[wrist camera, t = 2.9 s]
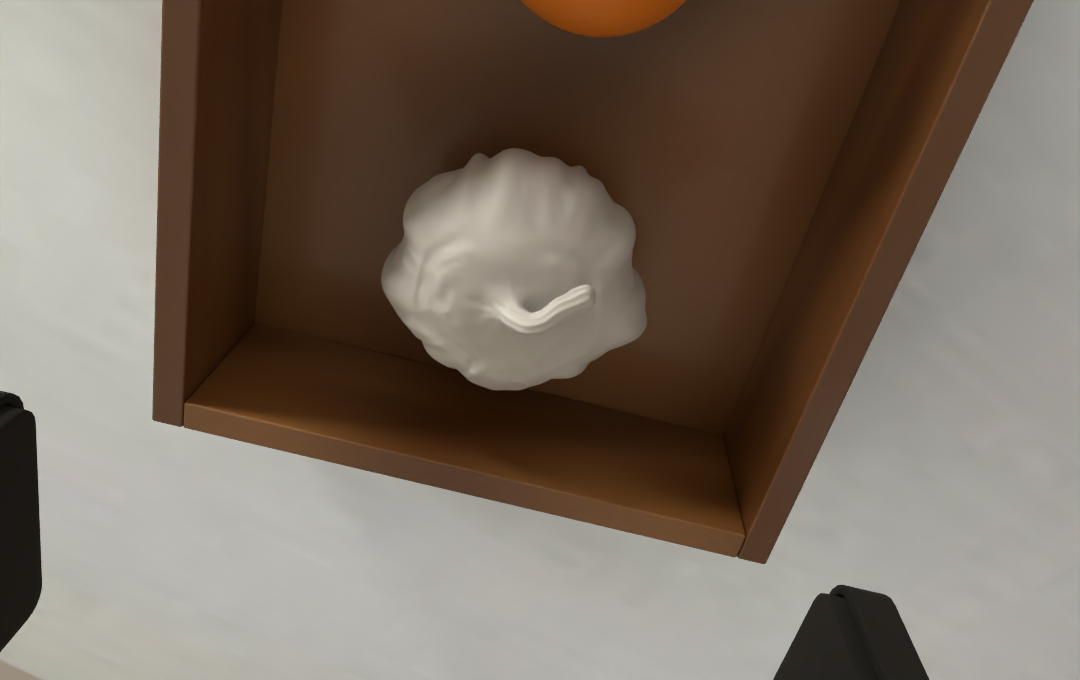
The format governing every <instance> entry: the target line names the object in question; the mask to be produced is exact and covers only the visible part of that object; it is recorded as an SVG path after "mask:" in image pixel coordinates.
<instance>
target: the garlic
mask: <svg viewBox="0 0 1080 680" xmlns="http://www.w3.org/2000/svg"><path fill="white" fill-rule="evenodd" d="M403 228H404V237H403V239H402V241H401V243H400V244H399V245H398V246H396V247H395V248H394V249H393V250H392V252H391V253H390V254H389V256H388V257H387V259H386V261H385V264H384V267H383V270H382V275H381V283H382V288H383V291H384V293H385V295H386V297H387V299H388V300H389V302H390V303H391V305H392V306H393V308H394V310H395V311H396V313H397V314H398V316H399V317H400V319H401V320H402V321H403V323H404V324H405V325H406V326H407V327H408V328H409V329H410V330H411V332H412V333H413V334H414V336H415V337H417V338H418V339H420V340H422V343H423V345H424V348H425V350H426V351H427V353H428V354H429V355H430V356H431V357H432V358H433V359H435V360H436V361H438V362H440V363H441V364H443V365H445V366H447V367H449V368H455V369H457V370H458V371H459V372H460V373H461V374H462V375H464V376H465V377H466V378H467V379H468V380H469V381H470V382H472V383H474V384H477V385H479V386H482V387H485V388H488V389H491V390H522V389H525V388H528V387H532V386H536V385H539V384H542V383H544V382H546V381H548V380H550V379H565V378H572V377H575V376H577V375H579V374H580V373H581V372H583V371H584V370H585V368H586V367H587V365H588V364H589V363H590V362H591V361H593V360H596V359H597V358H599V357H600V356H602V355H603V354H605V353H606V352H607V351H609V350H611V349H614V348H618V347H620V346H623V345H625V344H628V343H630V342H632V341H634V340H636V339H637V338H639V337H640V336H641V335H642V333H643V332H644V330H645V328H646V326H647V315H646V311H645V303H646V294H645V288H644V284H643V282H642V280H641V278H640V276H639V274H638V273H637V272H636V270H635V269H634V268H633V267H632V255H633V248H634V244H635V239H636V229H635V224H634V221H633V219H632V217H631V215H630V213H629V212H628V211H627V210H626V209H625V208H624V207H622V206H620V205H618V204H616V203H615V202H614V201H613V200H612V199H611V197H610V196H609V194H608V193H607V191H606V189H605V186H604V185H603V183H602V182H601V181H600V180H598V179H596V178H593V177H591V176H590V175H589V174H588V173H587V171H586V169H585V168H584V167H583V166H579V165H578V166H573V167H570V166H568V165H566V164H565V163H564V162H562V161H561V160H560V159H558V158H554V157H540V156H538V155H536V154H534V153H532V152H530V151H527V150H524V149H519V148H510V149H506V150H503V151H501V152H500V153H498V154H497V155H495V156H493V157H492V158H491V159H490V158H489V157H487V156H486V155H484V154H482V153H477V154H475V155H474V156H473V157H472V158H471V159H470V161H469V162H468V163H467V165H466V166H465V167H464V168H461V169H457V170H454V171H450V172H445V173H441V174H438V175H436V176H434V177H432V178H431V179H430V180H429V181H427V182H426V183H425V184H423V185H421V186H420V187H418V188H417V189H416V190H415V191H414V192H413V194H412V195H411V196H410V198H409V199H408V201H407V203H406V206H405V209H404V213H403Z"/></svg>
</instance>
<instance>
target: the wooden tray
mask: <svg viewBox="0 0 1080 680" xmlns="http://www.w3.org/2000/svg"><path fill="white" fill-rule="evenodd" d="M1032 2H1033V0H687V1H686V2H685V3H683V4H682V5H681V6H680V7H679V8H678V9H677V10H676V11H675V12H673V13H672V14H670V15H669V16H668V17H666V18H665V19H663V20H662V21H660V22H658V23H656V24H654V25H652V26H650V27H649V28H646V29H643V30H641V31H638V32H635V33H632V34H627V35H623V36H617V37H606V38H602V37H588V36H582V35H577V34H573V33H570V32H567V31H565V30H562V29H559V28H557V27H555V26H553V25H551V24H549V23H548V22H546V21H545V20H543V19H542V18H540V17H539V16H537V15H536V14H535V13H533V12H532V11H531V10H530V9H529V8H528V7H527V6H526V5H524V4H523V2H522V1H521V0H163V2H162V43H161V84H160V126H159V167H158V209H157V250H156V291H155V333H154V374H153V416H152V419H153V420H154V421H158V422H162V423H166V424H171V425H175V426H179V427H182V426H184V427H185V428H188V429H192V430H197V431H201V432H205V433H209V434H213V435H218V436H222V437H226V438H230V439H235V440H239V441H243V442H247V443H252V444H256V445H260V446H264V447H269V448H273V449H277V450H281V451H286V452H290V453H294V454H298V455H303V456H307V457H311V458H315V459H320V460H324V461H328V462H332V463H337V464H341V465H345V466H349V467H354V468H358V469H362V470H366V471H370V472H375V473H379V474H383V475H387V476H392V477H396V478H400V479H404V480H409V481H413V482H417V483H421V484H426V485H430V486H434V487H438V488H443V489H447V490H451V491H455V492H460V493H464V494H468V495H472V496H477V497H481V498H485V499H489V500H494V501H498V502H502V503H506V504H511V505H515V506H519V507H523V508H527V509H532V510H536V511H540V512H544V513H549V514H553V515H557V516H561V517H566V518H570V519H574V520H578V521H583V522H587V523H591V524H595V525H600V526H604V527H608V528H612V529H617V530H621V531H625V532H629V533H634V534H638V535H642V536H646V537H651V538H655V539H659V540H663V541H668V542H672V543H676V544H680V545H684V546H689V547H693V548H697V549H701V550H706V551H710V552H714V553H718V554H723V555H727V556H731V557H738V558H740V559H744V560H748V561H753V562H757V563H761V564H765V563H766V562H767V560H768V557H769V555H770V553H771V551H772V549H773V547H774V545H775V543H776V541H777V539H778V536H779V534H780V532H781V530H782V528H783V526H784V524H785V522H786V520H787V518H788V515H789V513H790V511H791V509H792V507H793V505H794V503H795V501H796V499H797V496H798V494H799V492H800V490H801V488H802V486H803V484H804V482H805V480H806V478H807V475H808V473H809V471H810V469H811V467H812V465H813V463H814V461H815V459H816V457H817V454H818V452H819V450H820V448H821V446H822V444H823V442H824V440H825V438H826V436H827V433H828V431H829V429H830V427H831V425H832V423H833V421H834V419H835V417H836V415H837V412H838V410H839V408H840V406H841V404H842V402H843V400H844V398H845V396H846V393H847V391H848V389H849V387H850V385H851V383H852V381H853V379H854V377H855V375H856V372H857V370H858V368H859V366H860V364H861V362H862V360H863V358H864V356H865V354H866V351H867V349H868V347H869V345H870V343H871V341H872V339H873V337H874V335H875V333H876V330H877V328H878V326H879V324H880V322H881V320H882V318H883V316H884V314H885V311H886V309H887V307H888V305H889V303H890V301H891V299H892V297H893V295H894V293H895V290H896V288H897V286H898V284H899V282H900V280H901V278H902V276H903V274H904V272H905V269H906V267H907V265H908V263H909V261H910V259H911V257H912V255H913V253H914V251H915V248H916V246H917V244H918V242H919V240H920V238H921V236H922V234H923V232H924V229H925V227H926V225H927V223H928V221H929V219H930V217H931V215H932V213H933V211H934V208H935V206H936V204H937V202H938V200H939V198H940V196H941V194H942V192H943V190H944V187H945V185H946V183H947V181H948V179H949V177H950V175H951V173H952V171H953V169H954V166H955V164H956V162H957V160H958V158H959V156H960V154H961V152H962V150H963V147H964V145H965V143H966V141H967V139H968V137H969V135H970V133H971V131H972V129H973V126H974V124H975V122H976V120H977V118H978V116H979V114H980V112H981V110H982V108H983V105H984V103H985V101H986V99H987V97H988V95H989V93H990V91H991V89H992V87H993V84H994V82H995V80H996V78H997V76H998V74H999V72H1000V70H1001V68H1002V66H1003V63H1004V61H1005V59H1006V57H1007V55H1008V53H1009V51H1010V49H1011V47H1012V44H1013V42H1014V40H1015V38H1016V36H1017V34H1018V32H1019V30H1020V28H1021V26H1022V23H1023V21H1024V19H1025V17H1026V15H1027V13H1028V11H1029V9H1030V7H1031V5H1032ZM510 148H519V149H524V150H527V151H530V152H532V153H534V154H536V155H538V156H540V157H554V158H558V159H560V160H561V161H562V162H564V163H565V164H566V165H568V166H570V167H573V166H578V165H579V166H583V167H584V168H585V169H586V171H587V173H588V174H589V175H590V176H591V177H593V178H596V179H598V180H600V181H601V182H602V183H603V185H604V186H605V189H606V191H607V193H608V194H609V196H610V197H611V199H612V200H613V201H614V202H615V203H616V204H618V205H620V206H622V207H624V208H625V209H626V210H627V211H628V212H629V213H630V215H631V217H632V219H633V221H634V224H635V229H636V239H635V244H634V248H633V255H632V267H633V268H634V269H635V270H636V272H637V273H638V274H639V276H640V278H641V280H642V282H643V284H644V288H645V294H646V303H645V311H646V315H647V326H646V328H645V330H644V332H643V333H642V335H641V336H640V337H639V338H637V339H636V340H634V341H632V342H630V343H628V344H625V345H623V346H620V347H618V348H614V349H611V350H609V351H607V352H606V353H605V354H603V355H602V356H600V357H599V358H597V359H596V360H593V361H591V362H590V363H589V364H588V365H587V367H586V368H585V370H584V371H583V372H581V373H580V374H579V375H577V376H575V377H572V378H565V379H550V380H548V381H546V382H544V383H542V384H539V385H536V386H532V387H528V388H525V389H522V390H491V389H488V388H485V387H482V386H479V385H477V384H474V383H472V382H470V381H469V380H468V379H467V378H466V377H465V376H464V375H462V374H461V373H460V372H459V371H458V370H457V369H455V368H449V367H447V366H445V365H443V364H441V363H440V362H438V361H436V360H435V359H433V358H432V357H431V356H430V355H429V354H428V353H427V351H426V350H425V348H424V345H423V343H422V340H420V339H418V338H417V337H415V336H414V334H413V333H412V332H411V330H410V329H409V328H408V327H407V326H406V325H405V324H404V323H403V321H402V320H401V319H400V317H399V316H398V314H397V313H396V311H395V310H394V308H393V306H392V305H391V303H390V302H389V300H388V299H387V297H386V295H385V293H384V291H383V288H382V283H381V275H382V270H383V267H384V264H385V261H386V259H387V257H388V256H389V254H390V253H391V252H392V250H393V249H394V248H395V247H396V246H398V245H399V244H400V243H401V241H402V239H403V237H404V228H403V213H404V209H405V206H406V203H407V201H408V199H409V198H410V196H411V195H412V194H413V192H414V191H415V190H416V189H417V188H418V187H420V186H421V185H423V184H425V183H426V182H427V181H429V180H430V179H431V178H432V177H434V176H436V175H438V174H441V173H445V172H450V171H454V170H457V169H461V168H464V167H465V166H466V165H467V163H468V162H469V161H470V159H471V158H472V157H473V156H474V155H475V154H477V153H482V154H484V155H486V156H487V157H489V158H490V159H491V158H492V157H493V156H495V155H497V154H498V153H500V152H501V151H503V150H506V149H510Z"/></svg>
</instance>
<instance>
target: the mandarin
mask: <svg viewBox="0 0 1080 680" xmlns="http://www.w3.org/2000/svg"><path fill="white" fill-rule="evenodd" d="M521 1H522V2H523V4H524V5H526V6H527V7H528V8H529V9H530V10H531V11H532V12H533V13H535V14H536V15H537V16H539V17H540V18H542V19H543V20H545V21H546V22H548V23H549V24H551V25H553V26H555V27H557V28H559V29H562V30H565V31H567V32H570V33H573V34H577V35H582V36H588V37H602V38H606V37H617V36H623V35H627V34H632V33H635V32H638V31H641V30H643V29H646V28H649V27H650V26H652V25H654V24H656V23H658V22H660V21H662V20H663V19H665V18H666V17H668V16H669V15H670V14H672V13H673V12H675V11H676V10H677V9H678V8H679V7H680V6H681V5H682V4H683V3H685V2H686V1H687V0H521Z"/></svg>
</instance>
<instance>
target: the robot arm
mask: <svg viewBox="0 0 1080 680" xmlns="http://www.w3.org/2000/svg"><path fill="white" fill-rule="evenodd" d="M41 589H42V572H41V546H40V521H39V495H38V470H37V445H36V422H35V417H34V415H33V414H32V412H30V411H28V410H24V407H23V402H22V401H21V399H20V397H19V396H17V395H15V394H12V393H8V392H3V391H0V652H1V651H2V649H3V648H4V647H5V646H6V645H7V643H8V642H9V641H10V640H11V639H12V637H13V636H14V635H15V634H16V633H17V631H18V630H19V629H20V628H21V627H22V626H23V624H24V623H25V622H26V621H27V620H28V618H29V617H30V615H31V614H32V613H33V611H34V609H35V607H36V605H37V603H38V600H39V597H40V594H41ZM773 680H929V678H928V676H927V674H926V671H925V669H924V667H923V665H922V663H921V661H920V658H919V656H918V654H917V652H916V650H915V647H914V645H913V643H912V641H911V639H910V637H909V634H908V632H907V630H906V628H905V626H904V623H903V621H902V619H901V617H900V615H899V613H898V610H897V608H896V606H895V604H894V603H893V601H892V600H891V598H890V597H888V596H886V595H884V594H880V593H876V592H871V591H867V590H863V589H858V588H854V587H850V586H845V585H837V586H836V587H835V588H833V589H832V591H831V592H830V594H825V593H820V594H819V595H818V596H817V597H816V598H815V600H814V601H813V603H812V605H811V607H810V609H809V611H808V613H807V615H806V617H805V619H804V621H803V623H802V624H801V626H800V628H799V630H798V632H797V634H796V636H795V638H794V640H793V642H792V644H791V646H790V648H789V650H788V652H787V654H786V656H785V658H784V660H783V662H782V663H781V665H780V667H779V669H778V671H777V673H776V675H775V677H774V679H773Z"/></svg>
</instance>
